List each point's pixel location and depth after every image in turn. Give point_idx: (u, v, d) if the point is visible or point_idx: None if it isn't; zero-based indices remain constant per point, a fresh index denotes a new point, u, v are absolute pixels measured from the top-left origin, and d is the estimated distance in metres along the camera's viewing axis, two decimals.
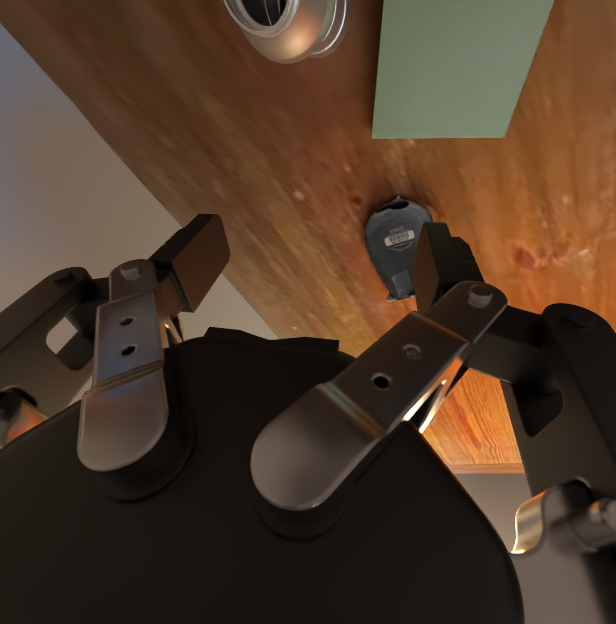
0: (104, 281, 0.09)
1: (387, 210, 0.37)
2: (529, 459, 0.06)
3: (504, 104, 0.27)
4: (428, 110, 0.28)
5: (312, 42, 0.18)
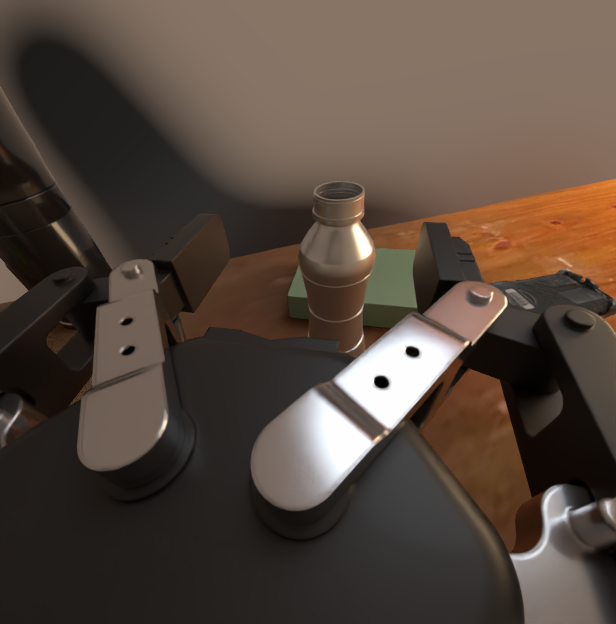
0: (104, 281, 0.09)
1: None
2: (529, 459, 0.06)
3: (398, 252, 0.43)
4: (402, 280, 0.38)
5: None
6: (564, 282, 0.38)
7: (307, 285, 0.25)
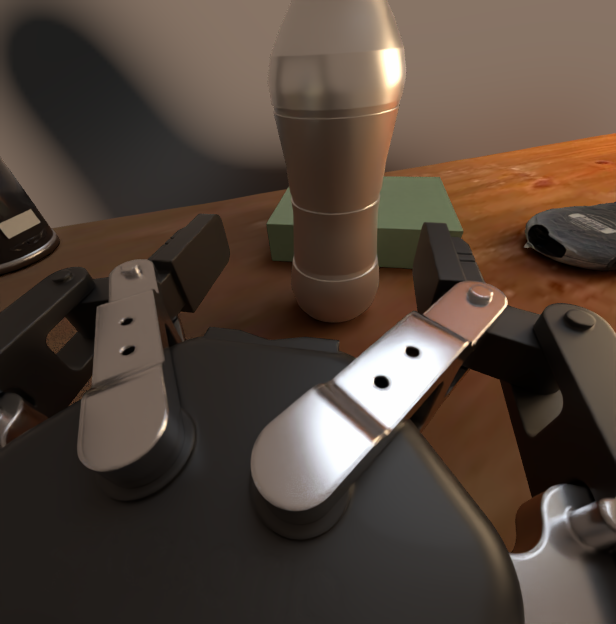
0: (103, 281, 0.09)
1: (553, 236, 0.25)
2: (529, 459, 0.06)
3: (416, 179, 0.33)
4: (425, 204, 0.28)
5: None
6: None
7: (285, 136, 0.14)
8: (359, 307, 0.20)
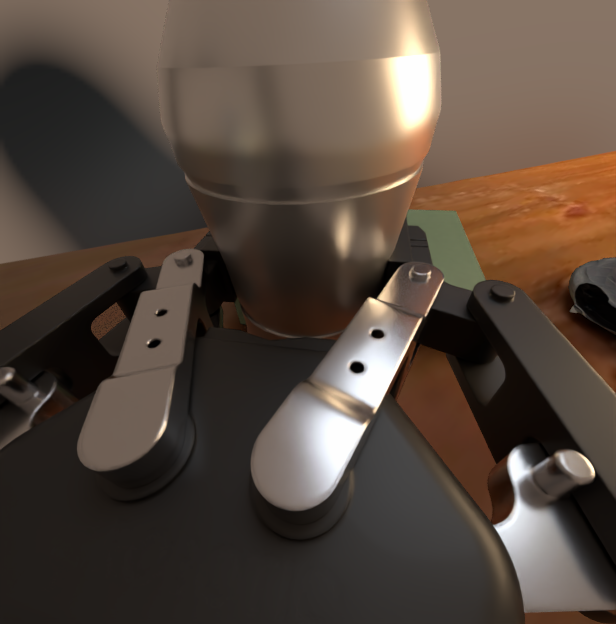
0: (154, 270, 0.09)
1: (615, 304, 0.19)
2: (486, 426, 0.07)
3: (426, 214, 0.26)
4: (440, 254, 0.21)
5: None
6: None
7: (205, 217, 0.07)
8: None
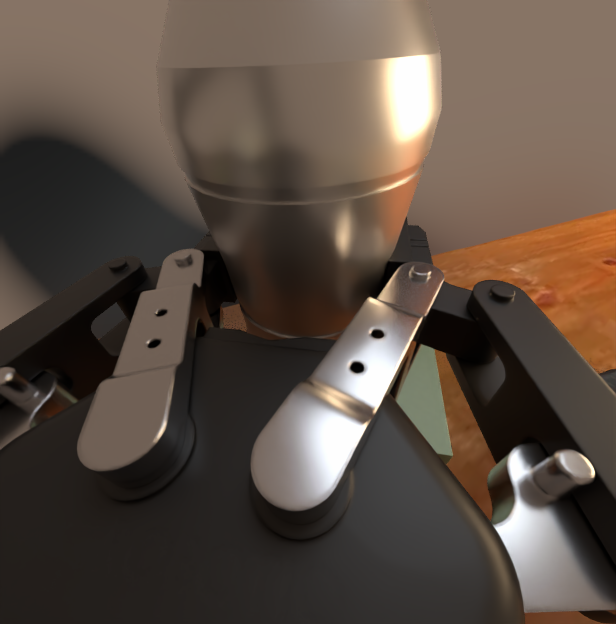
0: (154, 270, 0.09)
1: None
2: (486, 426, 0.07)
3: None
4: (411, 386, 0.24)
5: None
6: None
7: (205, 217, 0.07)
8: None
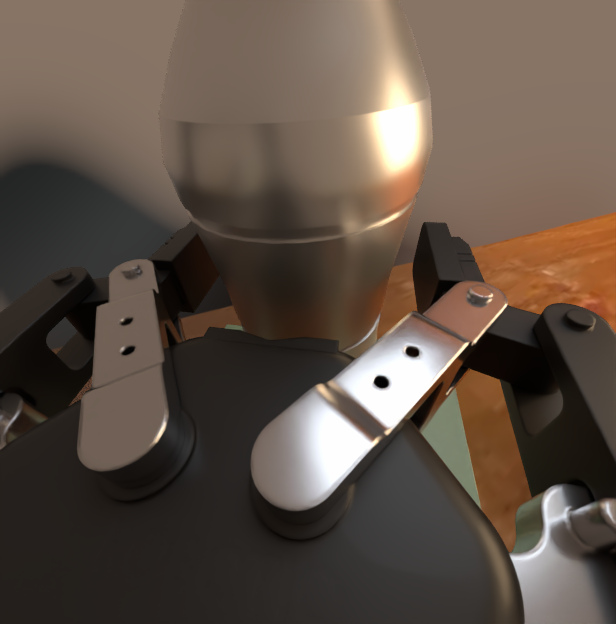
0: (104, 281, 0.09)
1: None
2: (529, 459, 0.06)
3: None
4: None
5: None
6: None
7: (206, 248, 0.08)
8: None
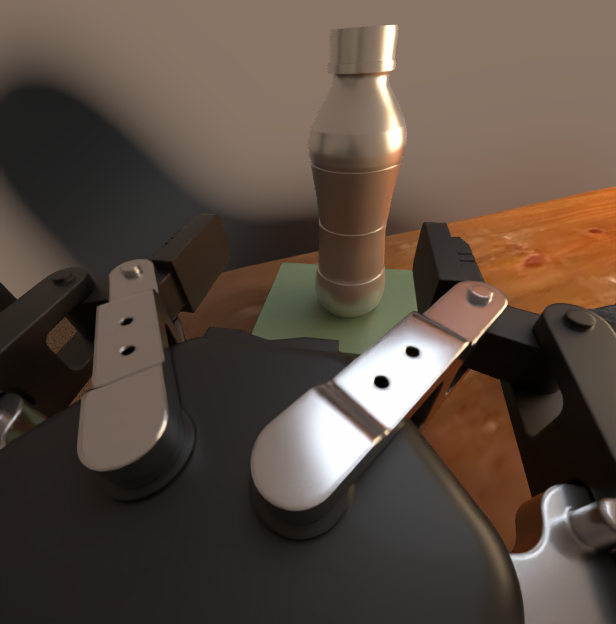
0: (104, 281, 0.09)
1: None
2: (529, 459, 0.06)
3: (403, 275, 0.32)
4: None
5: None
6: None
7: (319, 181, 0.19)
8: (370, 305, 0.26)
